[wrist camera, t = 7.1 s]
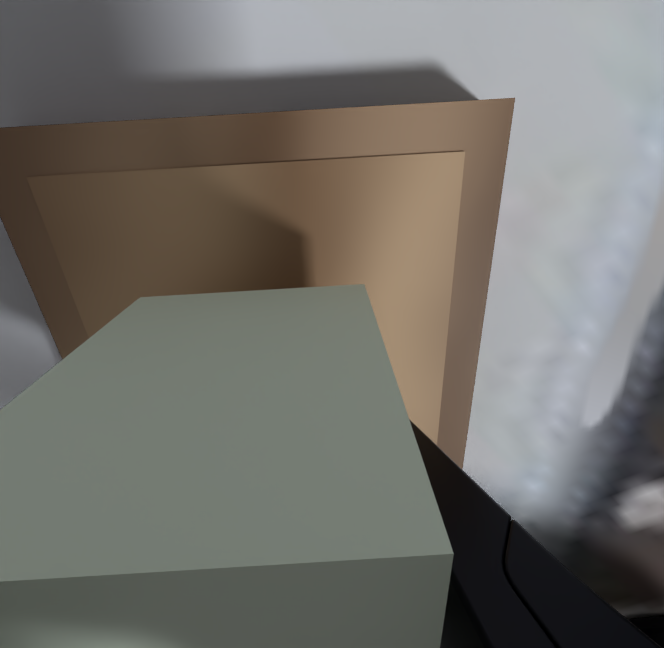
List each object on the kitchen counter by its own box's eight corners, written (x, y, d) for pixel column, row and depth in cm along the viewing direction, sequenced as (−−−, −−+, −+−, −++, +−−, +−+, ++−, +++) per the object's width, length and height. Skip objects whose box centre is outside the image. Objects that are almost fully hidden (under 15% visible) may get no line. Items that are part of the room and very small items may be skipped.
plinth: (486, 105, 9) (516, 97, 8) (446, 455, 14) (460, 488, 13) (14, 132, 9) (-40, 129, 8) (145, 474, 14) (126, 508, 13)
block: (364, 284, 8) (453, 554, 3) (366, 451, 10) (418, 790, 5) (140, 297, 8) (-231, 596, 3) (189, 462, 10) (41, 814, 5)
